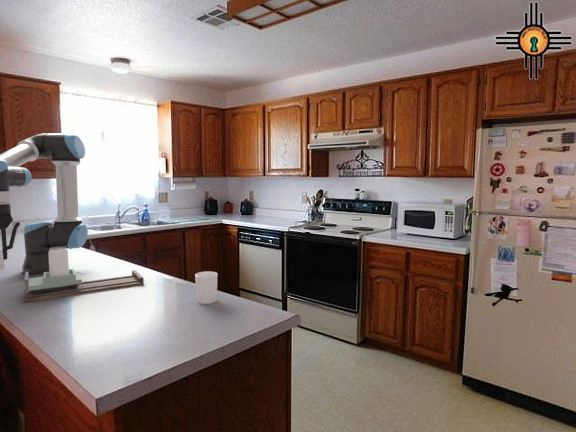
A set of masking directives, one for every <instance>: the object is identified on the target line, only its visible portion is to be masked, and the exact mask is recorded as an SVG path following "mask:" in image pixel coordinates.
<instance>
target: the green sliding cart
mask: <svg viewBox="0 0 576 432" xmlns="http://www.w3.org/2000/svg"><path fill="white" fill-rule="evenodd" d="M82 282H83V279H82V276H81V275H80V273H79V272H75V270H74V268H72V269H71V268H69V275H63V276H55V277H50V272H44V273H43V276H38V277H30V274H29V273H28V272H25V273H24V287H25V289H24V292H25V291H26V293H29V291H31V290H33V292H34V293H35V294H39V293H40V292H41V289H45V288H53V287H60V286H67V285H71V288H73V289H76V288H77V287H78V284H82Z"/></svg>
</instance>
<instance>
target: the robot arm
mask: <svg viewBox="0 0 576 432" xmlns="http://www.w3.org/2000/svg"><path fill="white" fill-rule="evenodd" d="M85 155H86V147H85V143H84V141H83V140H82V138H81V137H80V135H79V134H76V133H70V132H69V133H68V132H62V133H60V132H58V133H55V132H53V133H50V132H48V133H47V132H46V133H45V132H44V133H39V134H35V135H32V136H30V137H27V138H25V139H22V140H21V141H20V140H19V142H18V143H17V144H16V146H14V147H12V148H10V149H8V150H6V151H4V152H2V153H0V233H1V245H2V246H1V247H2V250H0V270H5V260H8V258H9V257H8V251H9V250H11V249H13V247H14V243H15V240H16V236H17V235H16V234H17V230H18V228H19V226H20V225H21V222H20V221H17V220H16V219H15V220H14V218H13V216H12V212H11V211H12V210H11V204H10V202H11V195H10V193H11V192H10V187H11V188H12V187H13V188H14V187H16V188H19V187H20V188H21V187H22V188H23V187H26V186H28V185H29V184H30V183H31V181H32V178H33V176H32V173H31V171H30V170H29V169H28V168H26V167H23V165H24V164H26V163H28V162H34V161H36V160H40V159H50V160H51V163H52V164H54V165H55V177H56V178H55V179H56V180H55V181H56V183H55V184H56V187H55V188H56V205H57V206H56V209H57V211H56V212H57V217H56V218H55V219H54V220H46V221H40V222H32V223H29V224H26V225H24V227H23V236H24V237H23V239H24V251H25V257H24V259H23V264H22V267H21V270H22V271H21V272H22V274H25V272H28V273H29V275H37V274H44V272H50V271H49V255H48V253H49V250H50V249H49V248H52V247H66V249H67V250H68V249H69V250H72V249H80V248H82V247H83V246H85V243H86V242H87V240H88V234H89V233H88V232H89V231H88V227H87V225H86V224H85V223H83V219H82V218H81V217H80V216H79V198H78V197H79V195H78V171H77V170H78V169H77V168H78V166H79V165H80V164H81V160H82V159H84V158H85ZM10 224H11V226H12V227H13V228H12V231H11V235H10V239H9V243H8V241H7V228H8V227H9V226H10Z"/></svg>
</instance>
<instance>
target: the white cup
mask: <svg viewBox="0 0 576 432" xmlns="http://www.w3.org/2000/svg"><path fill="white" fill-rule="evenodd" d="M194 277H195V278H194V280H195V282H194V283H195V292H196V301H197V303H198V304H202V305H210V304H214V303H216V302H217V294H218V272H216V271H210V270H209V271H208V270H207V271H199V272H196V273H195V274H194Z"/></svg>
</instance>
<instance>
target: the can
mask: <svg viewBox="0 0 576 432" xmlns="http://www.w3.org/2000/svg"><path fill="white" fill-rule="evenodd" d="M49 249H50V250H49V253H48V255H49V271H50V277H55V276H63V275H69V269H70V268H69V267H70V266H69V264H70V263H69V262H70V261H69V252H68V251H69V250H68V249H66V247H52V248H49Z"/></svg>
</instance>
